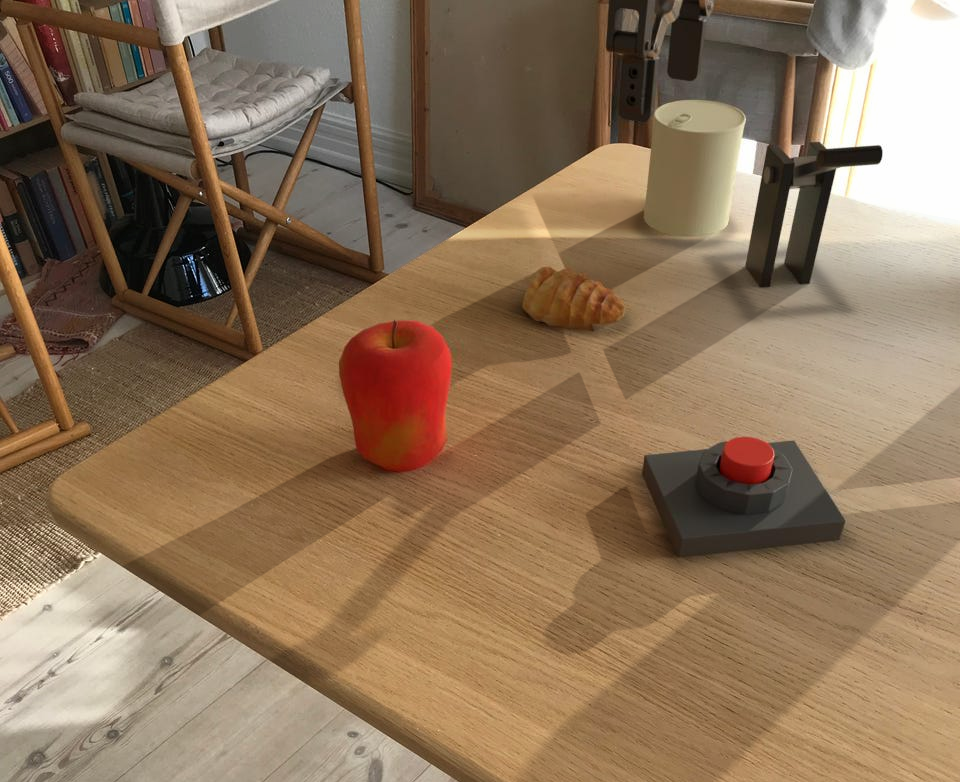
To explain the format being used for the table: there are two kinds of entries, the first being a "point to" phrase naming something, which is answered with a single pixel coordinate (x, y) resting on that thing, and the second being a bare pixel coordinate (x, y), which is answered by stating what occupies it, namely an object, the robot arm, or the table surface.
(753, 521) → the button box
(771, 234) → the bracket
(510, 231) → the table surface
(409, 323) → the apple
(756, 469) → the button
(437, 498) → the table surface
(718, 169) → the can
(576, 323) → the pastry
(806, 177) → the lever
